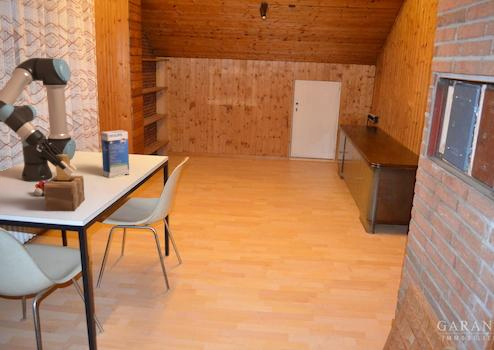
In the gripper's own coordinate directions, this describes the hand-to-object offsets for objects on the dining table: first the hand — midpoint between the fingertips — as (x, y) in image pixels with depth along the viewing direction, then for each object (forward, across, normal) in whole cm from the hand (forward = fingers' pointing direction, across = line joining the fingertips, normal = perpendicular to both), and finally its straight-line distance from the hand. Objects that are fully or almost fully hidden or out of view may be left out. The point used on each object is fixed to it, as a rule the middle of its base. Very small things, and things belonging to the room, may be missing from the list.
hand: (72, 172), depth 189 cm
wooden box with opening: (+8, 0, -14) cm, 16 cm away
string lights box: (+16, -55, -6) cm, 58 cm away
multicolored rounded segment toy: (-2, -16, -24) cm, 29 cm away
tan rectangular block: (0, 0, -5) cm, 5 cm away
